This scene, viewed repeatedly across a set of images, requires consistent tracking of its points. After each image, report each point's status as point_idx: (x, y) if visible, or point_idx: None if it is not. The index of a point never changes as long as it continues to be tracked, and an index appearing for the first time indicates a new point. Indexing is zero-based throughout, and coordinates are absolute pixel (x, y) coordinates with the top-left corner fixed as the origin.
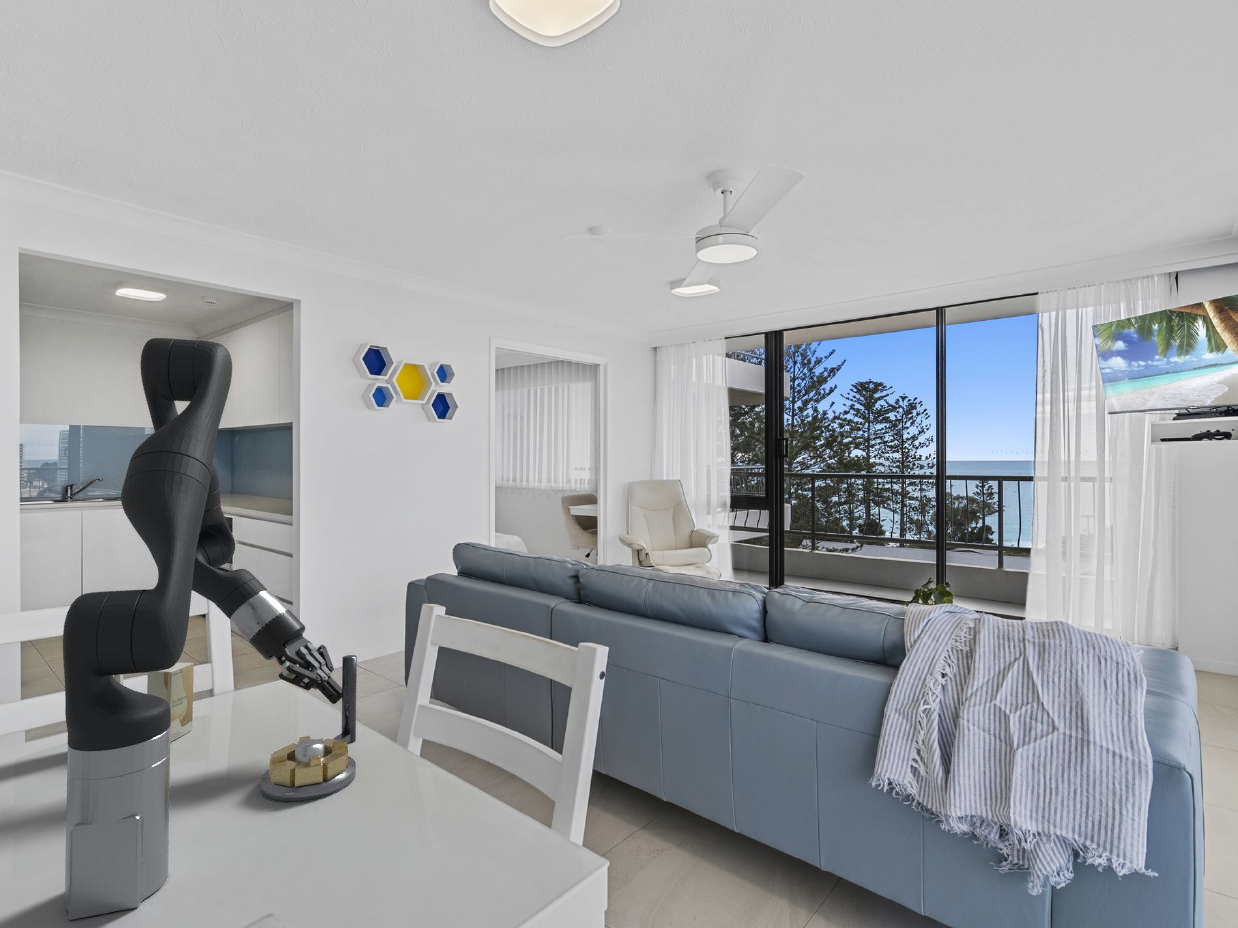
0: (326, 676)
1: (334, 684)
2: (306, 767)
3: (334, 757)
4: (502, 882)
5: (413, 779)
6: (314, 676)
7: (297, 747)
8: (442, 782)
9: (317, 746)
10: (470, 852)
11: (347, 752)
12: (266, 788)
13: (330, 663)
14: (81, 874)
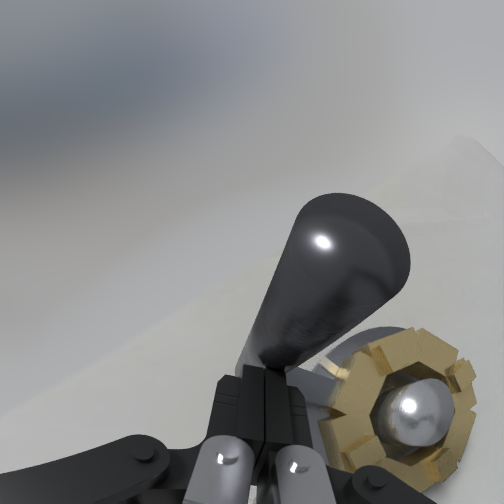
0: (296, 455)
1: (271, 409)
2: (469, 386)
3: (436, 347)
4: (499, 180)
5: None
6: (395, 491)
7: (441, 433)
8: (381, 198)
9: (439, 387)
10: (484, 191)
11: (412, 328)
12: None
13: (97, 464)
14: None
